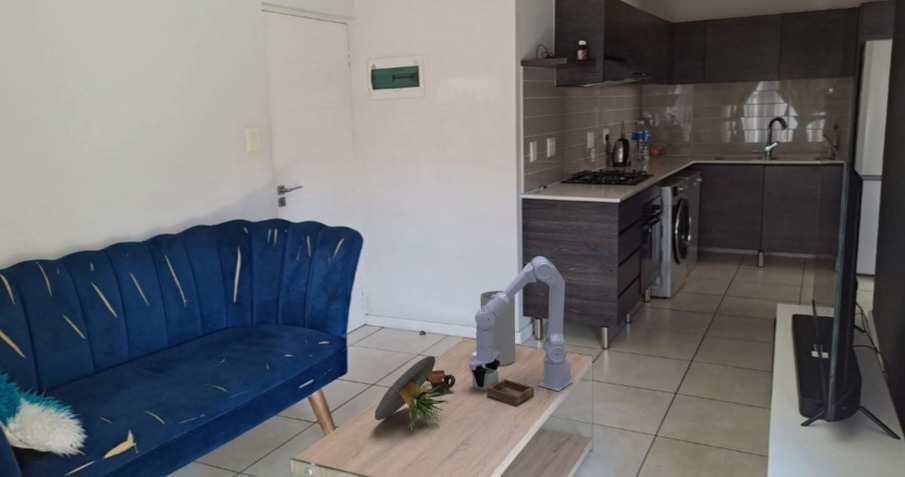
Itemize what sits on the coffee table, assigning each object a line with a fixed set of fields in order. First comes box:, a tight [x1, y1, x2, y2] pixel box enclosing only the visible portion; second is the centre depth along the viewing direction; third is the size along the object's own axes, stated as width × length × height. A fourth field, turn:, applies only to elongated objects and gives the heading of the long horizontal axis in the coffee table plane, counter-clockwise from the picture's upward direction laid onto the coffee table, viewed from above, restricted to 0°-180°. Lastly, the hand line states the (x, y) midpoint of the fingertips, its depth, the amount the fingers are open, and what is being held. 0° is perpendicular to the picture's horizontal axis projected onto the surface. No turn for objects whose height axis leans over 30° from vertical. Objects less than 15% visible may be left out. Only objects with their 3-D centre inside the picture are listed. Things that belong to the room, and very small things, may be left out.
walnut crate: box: [486, 378, 534, 407], centre depth 228 cm, size 10×12×3 cm
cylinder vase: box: [480, 290, 516, 367], centre depth 259 cm, size 12×12×25 cm
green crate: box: [471, 367, 499, 393], centre depth 236 cm, size 5×7×6 cm
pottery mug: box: [425, 369, 457, 397], centre depth 235 cm, size 12×10×8 cm
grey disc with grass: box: [374, 355, 451, 432], centre depth 209 cm, size 25×18×25 cm
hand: (485, 383), depth 236 cm, fingers closed on green crate, 5 cm apart
